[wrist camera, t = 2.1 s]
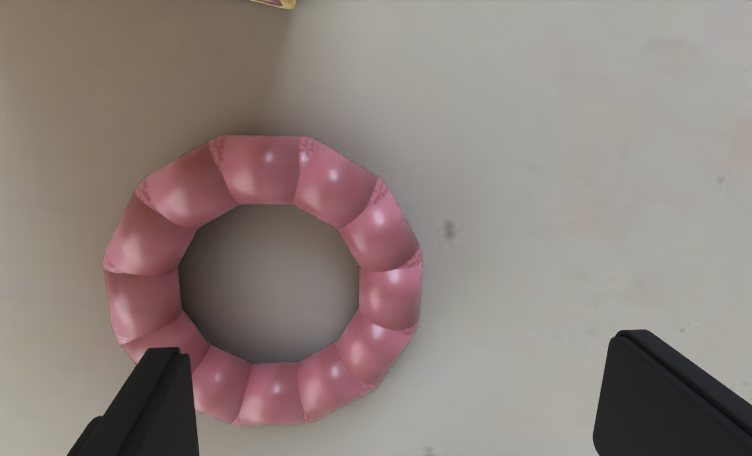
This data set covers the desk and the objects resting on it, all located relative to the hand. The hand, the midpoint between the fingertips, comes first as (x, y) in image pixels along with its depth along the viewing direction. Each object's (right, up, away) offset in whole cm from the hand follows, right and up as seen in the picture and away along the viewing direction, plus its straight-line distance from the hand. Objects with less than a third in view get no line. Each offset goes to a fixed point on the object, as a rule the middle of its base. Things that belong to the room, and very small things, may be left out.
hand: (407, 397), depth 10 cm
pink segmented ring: (-4, +2, +5) cm, 6 cm away
